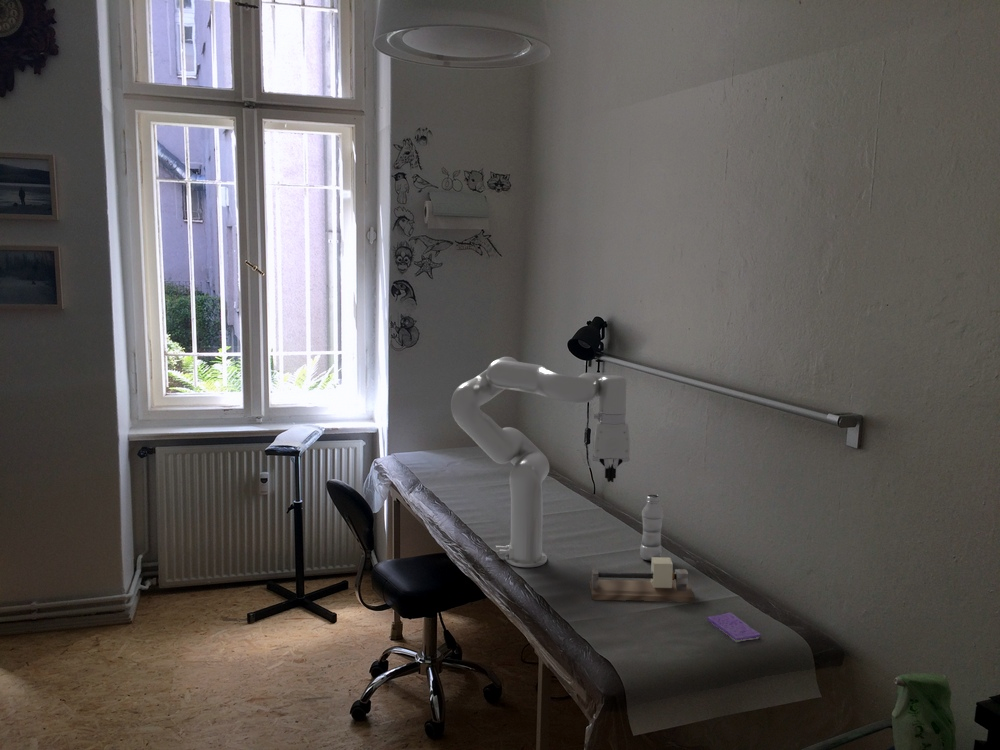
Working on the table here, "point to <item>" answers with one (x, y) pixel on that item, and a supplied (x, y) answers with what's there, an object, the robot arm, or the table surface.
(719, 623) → the sponges
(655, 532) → the plastic bottle
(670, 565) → the cream foam block
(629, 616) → the table surface
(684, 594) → the wooden linear slide
